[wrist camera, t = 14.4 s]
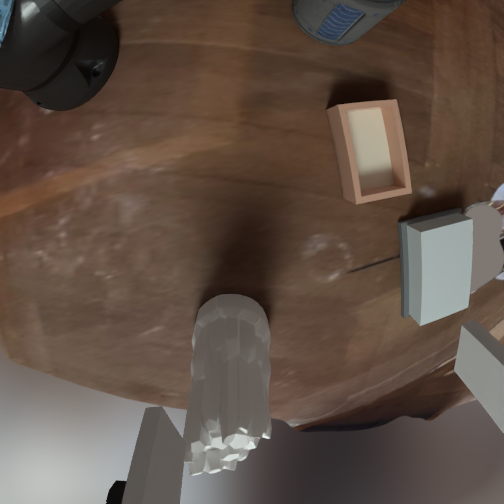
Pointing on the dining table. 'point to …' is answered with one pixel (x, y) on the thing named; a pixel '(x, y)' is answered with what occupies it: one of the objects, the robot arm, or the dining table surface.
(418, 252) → the board
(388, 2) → the beverage bottle
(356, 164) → the brown open box
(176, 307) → the dining table surface
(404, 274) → the mat
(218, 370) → the white ridged column
